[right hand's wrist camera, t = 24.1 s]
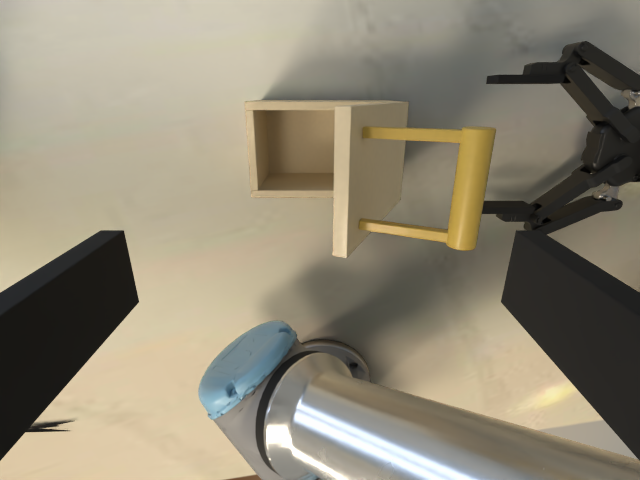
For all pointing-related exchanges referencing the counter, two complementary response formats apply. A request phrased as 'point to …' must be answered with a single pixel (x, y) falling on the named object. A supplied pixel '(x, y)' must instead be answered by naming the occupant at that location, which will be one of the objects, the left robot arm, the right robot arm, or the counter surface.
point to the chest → (293, 147)
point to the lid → (400, 176)
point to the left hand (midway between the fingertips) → (481, 147)
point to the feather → (39, 428)
